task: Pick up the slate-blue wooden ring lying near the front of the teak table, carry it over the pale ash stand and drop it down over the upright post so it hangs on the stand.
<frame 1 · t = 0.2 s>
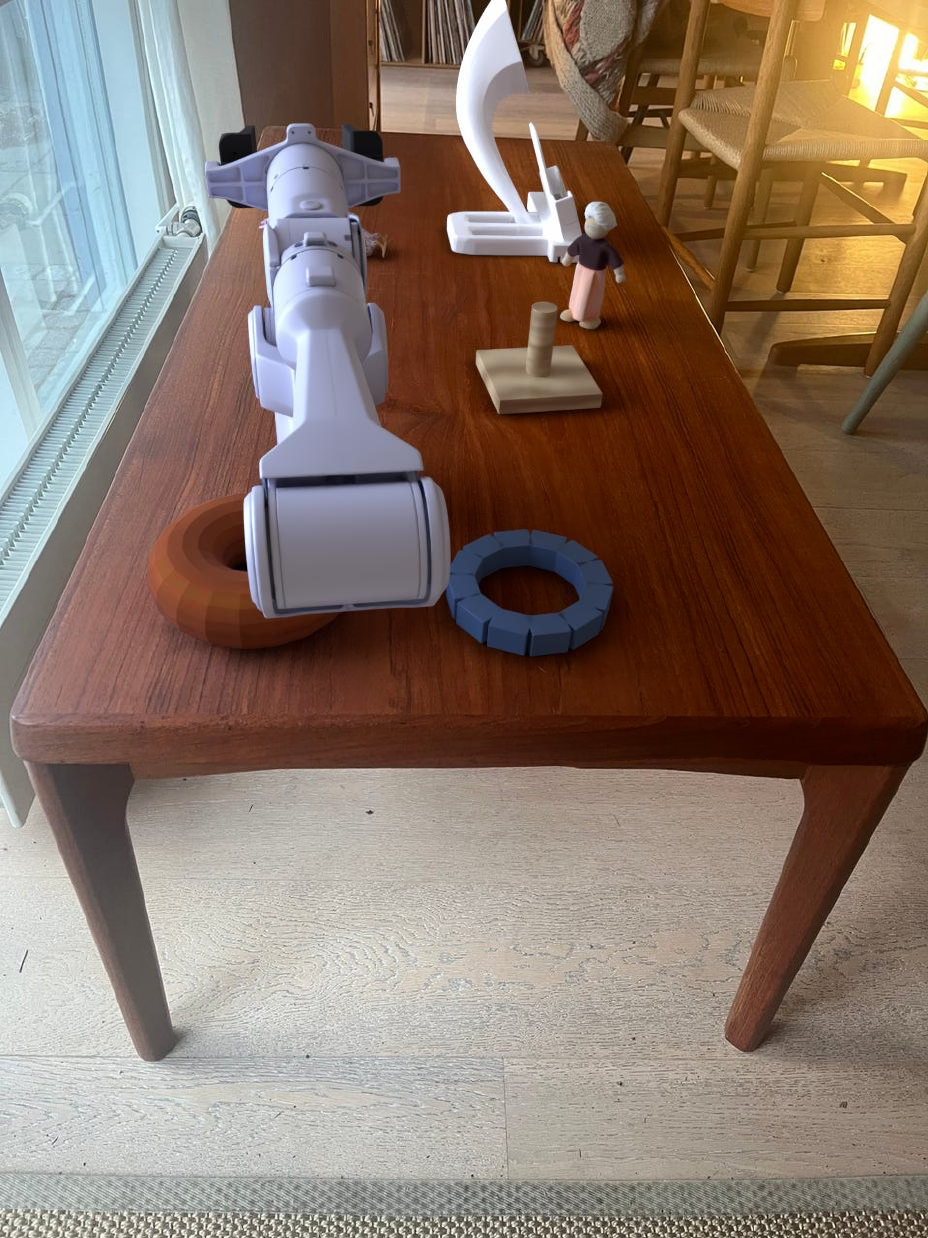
hand: (299, 137, 80), 22 cm above the table, tool horizontal, fingers open, 7 cm apart
ring: (527, 599, 71), on the table
donut: (259, 595, 70), on the table
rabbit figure: (324, 252, 117), on the table
jewelry stand: (504, 225, 127), on the table
stand: (536, 385, 95), on the table
grandmother figurine: (584, 323, 106), on the table
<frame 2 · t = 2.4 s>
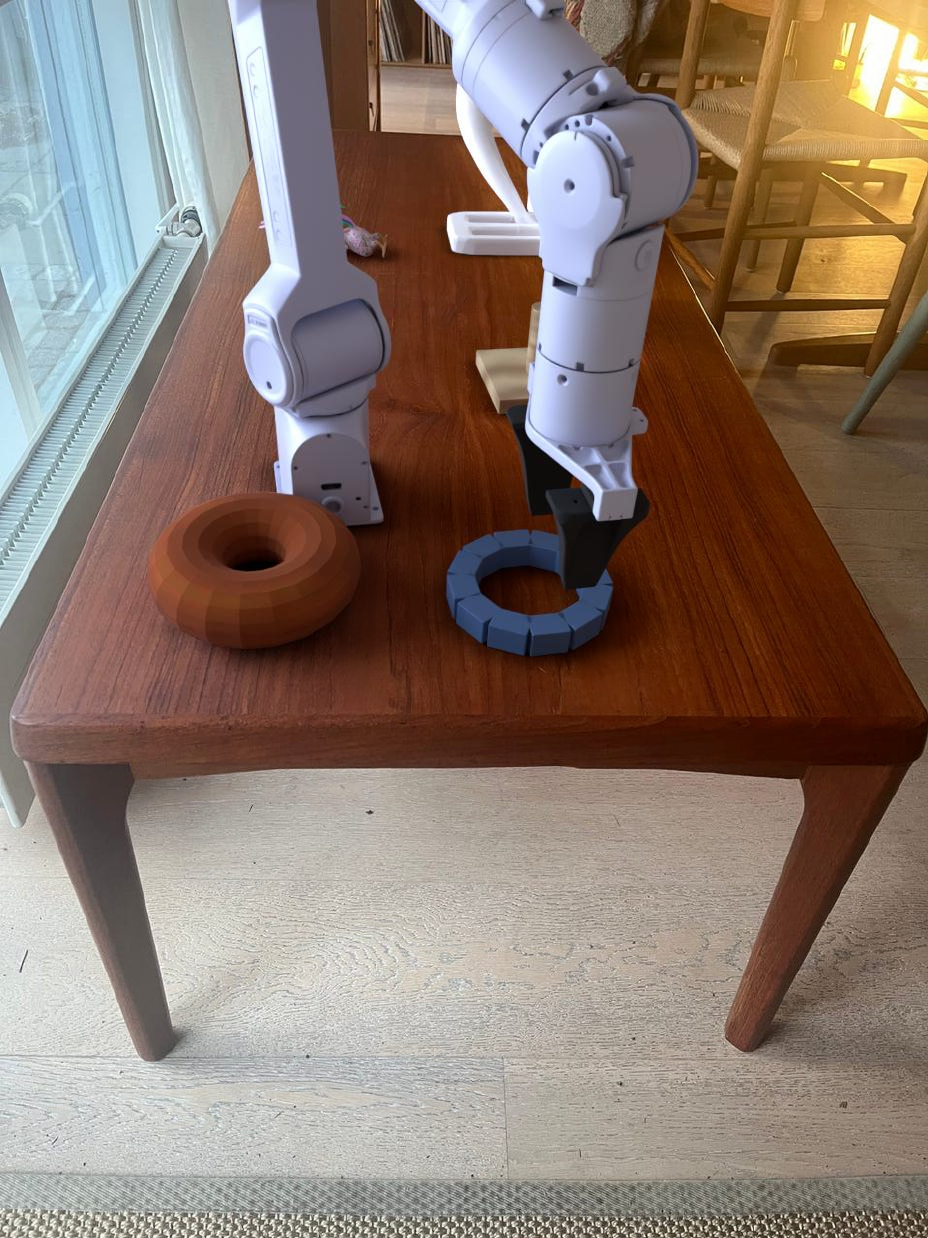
hand: (561, 546, 62), 8 cm above the table, tool pointing down, fingers open, 7 cm apart
nothing on the table moved.
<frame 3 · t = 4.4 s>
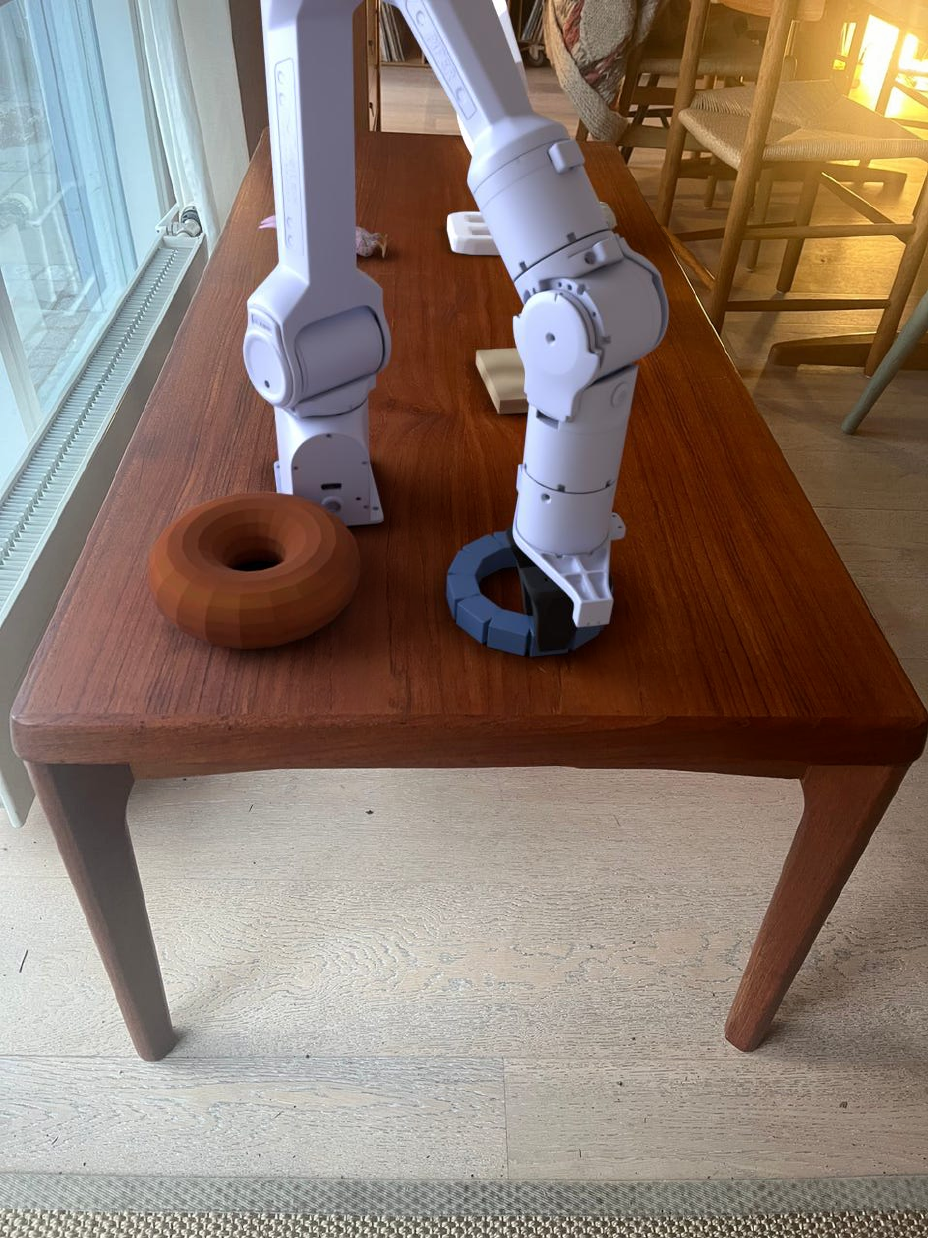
hand: (546, 634, 67), 1 cm above the table, tool pointing down, fingers closed on ring, 2 cm apart
ring: (527, 600, 71), on the table, touching gripper
everything else where it was.
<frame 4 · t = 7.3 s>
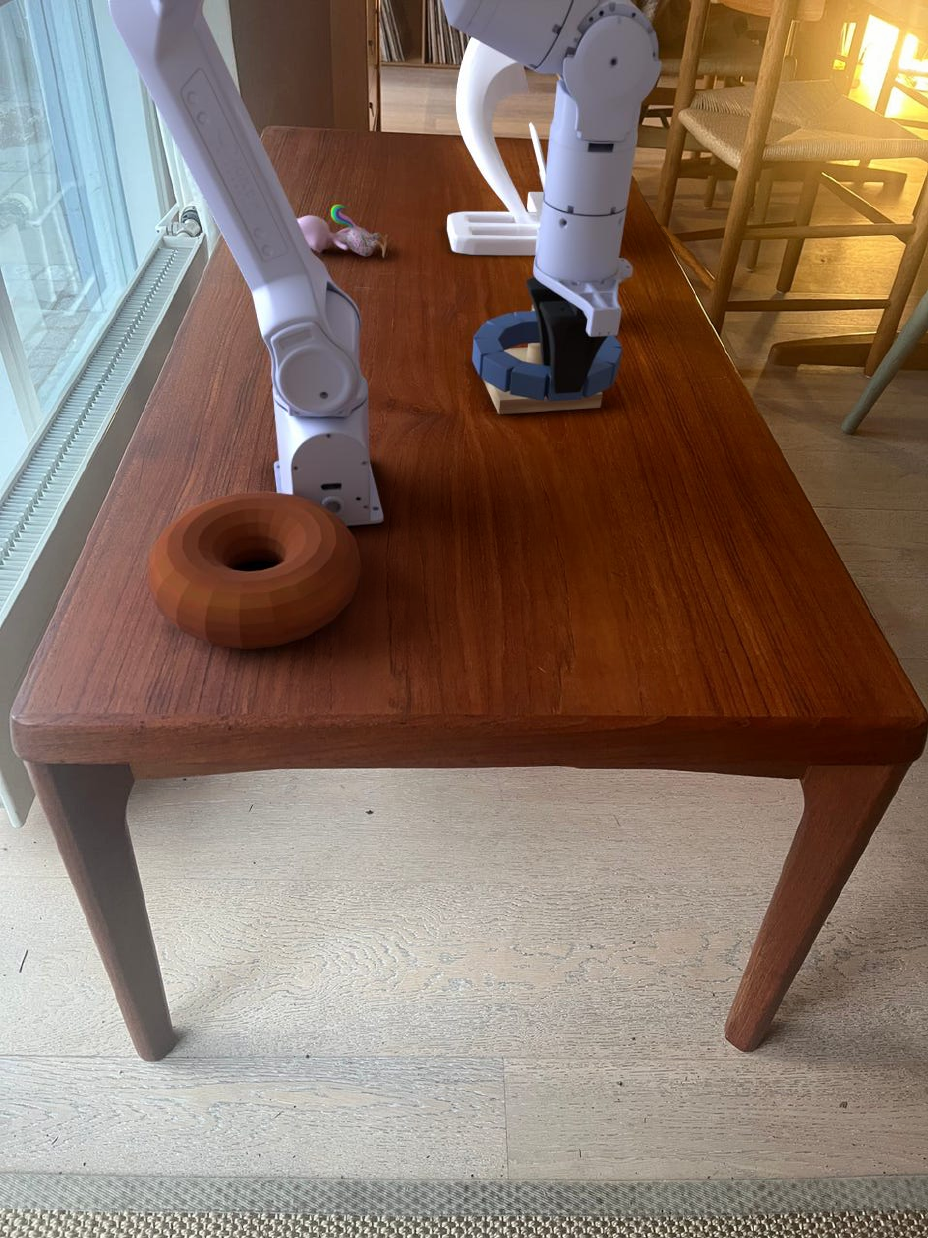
hand: (562, 382, 75), 10 cm above the table, tool pointing down, fingers closed on ring
ring: (545, 365, 79), point 9 cm above the table, touching gripper
everything else where it was.
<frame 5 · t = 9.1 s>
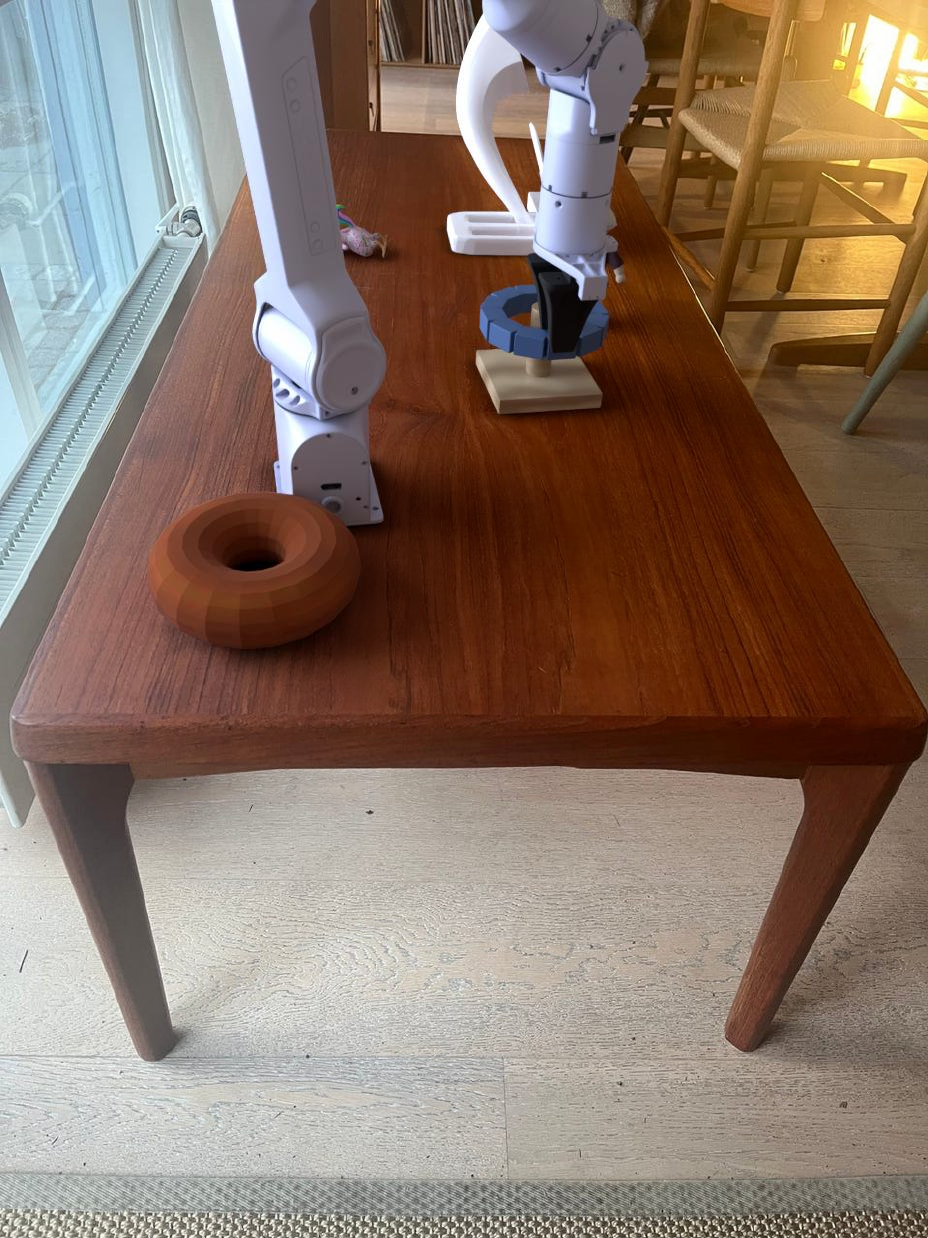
hand: (557, 343, 87), 7 cm above the table, tool pointing down, fingers closed on ring
ring: (542, 330, 91), point 6 cm above the table, touching gripper
everything else where it was.
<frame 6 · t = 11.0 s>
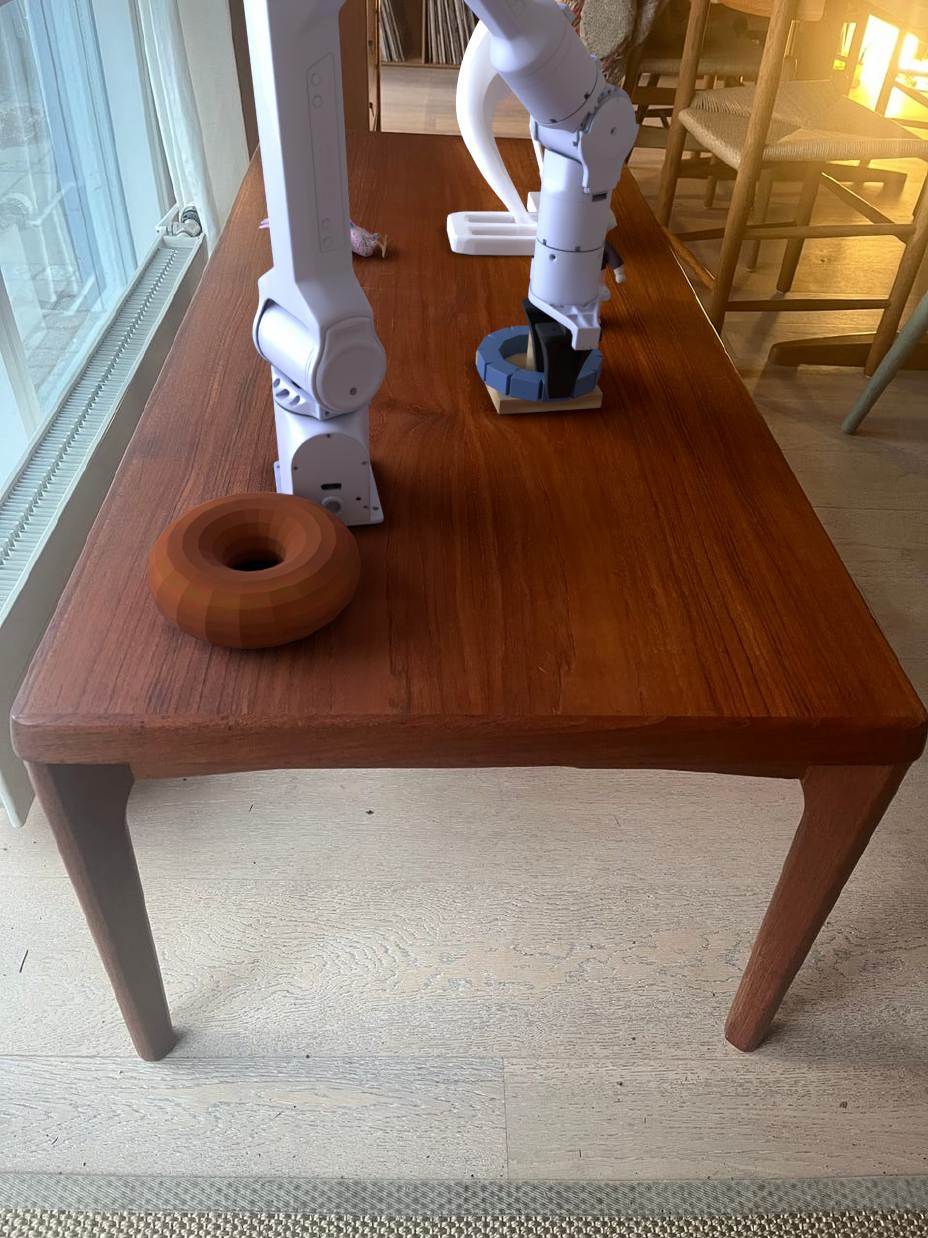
hand: (552, 386, 90), 2 cm above the table, tool pointing down, fingers open, 3 cm apart
ring: (538, 371, 94), point 1 cm above the table, touching stand
everything else where it was.
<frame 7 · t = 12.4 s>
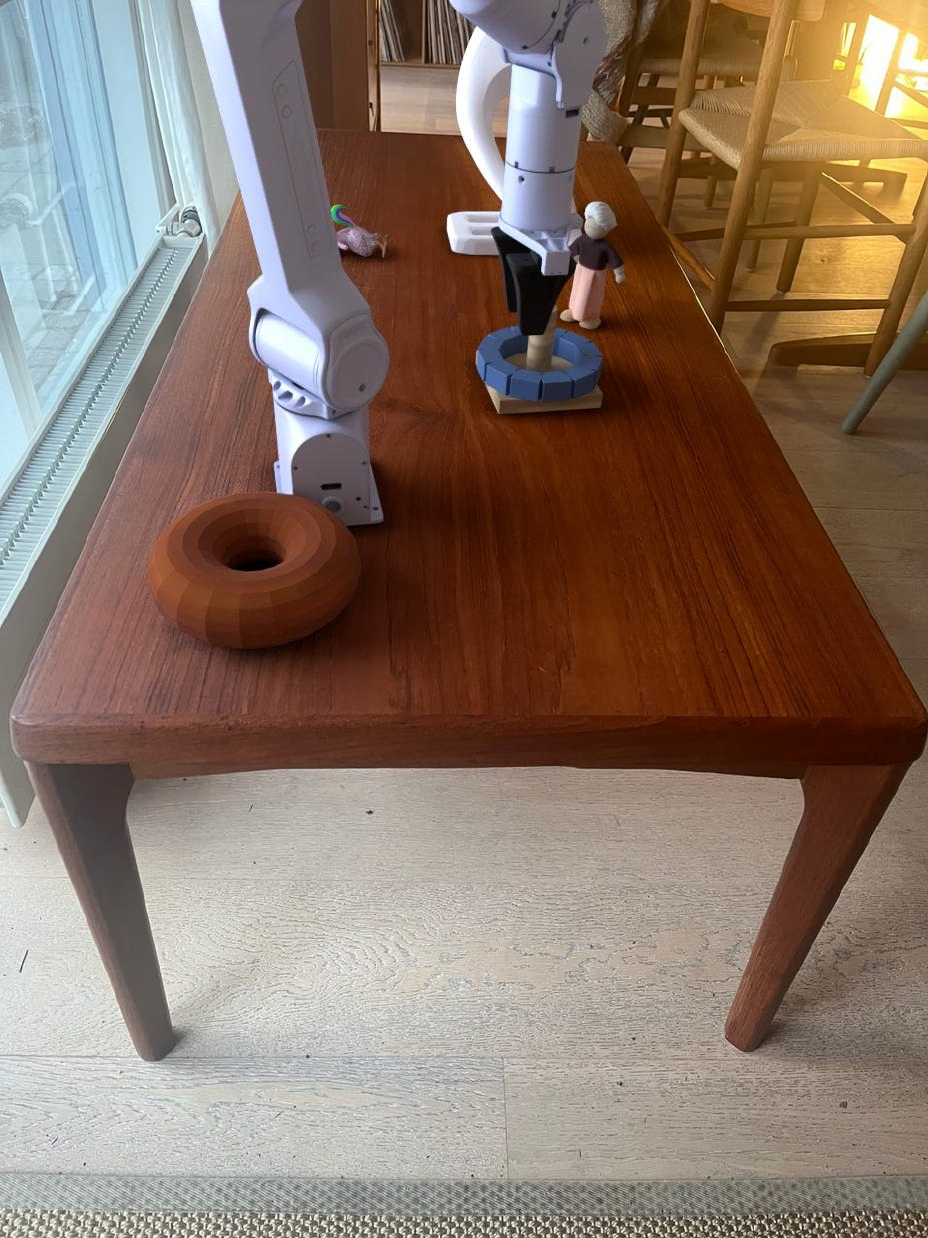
hand: (525, 322, 87), 8 cm above the table, tool pointing down, fingers open, 4 cm apart
nothing on the table moved.
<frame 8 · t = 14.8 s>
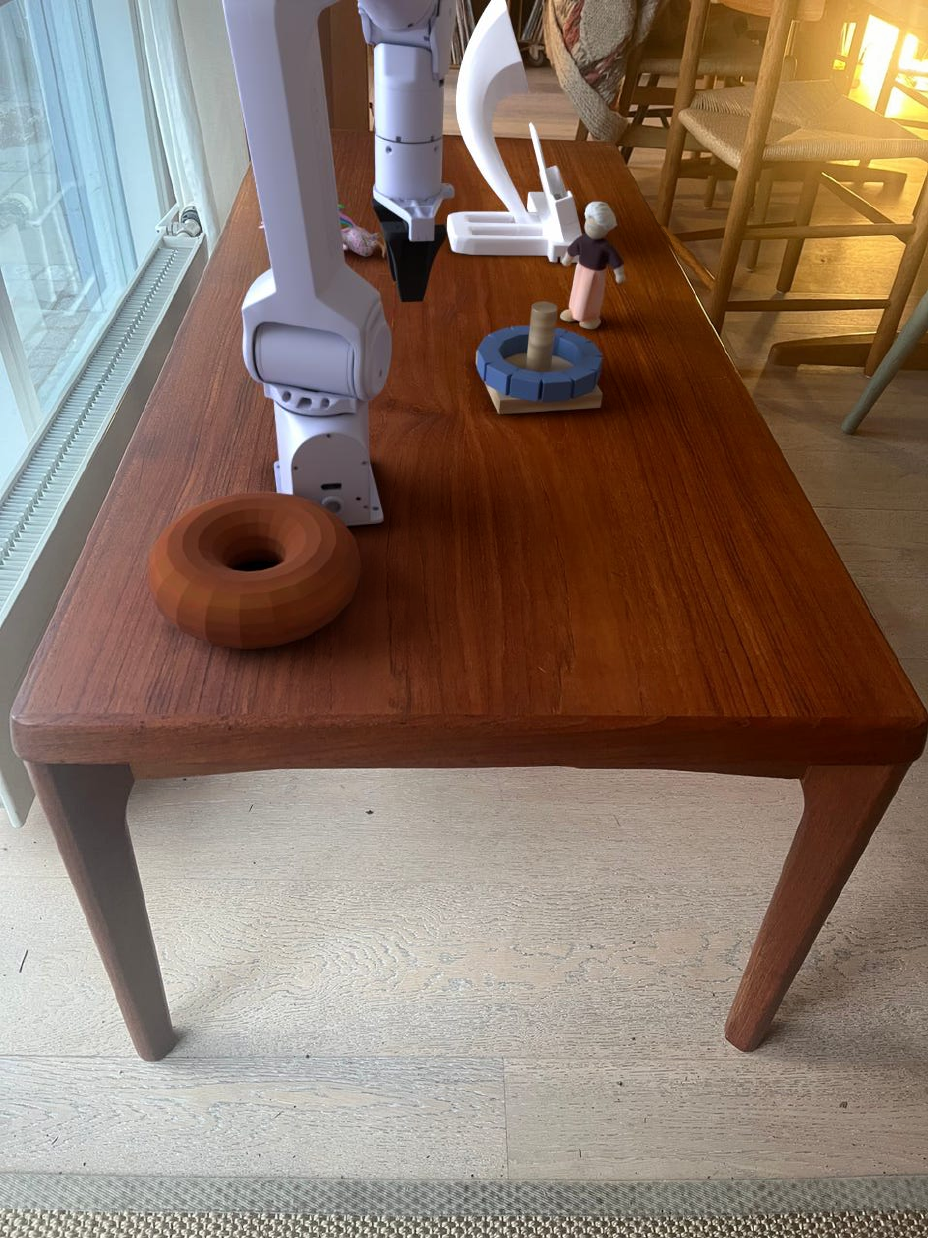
hand: (407, 289, 91), 8 cm above the table, tool pointing down, fingers open, 4 cm apart
nothing on the table moved.
at the end: ring 0.1 cm off-centre on the stand, point 1.5 cm above the stand's base; the gripper is holding nothing; ring tilted 0° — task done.
